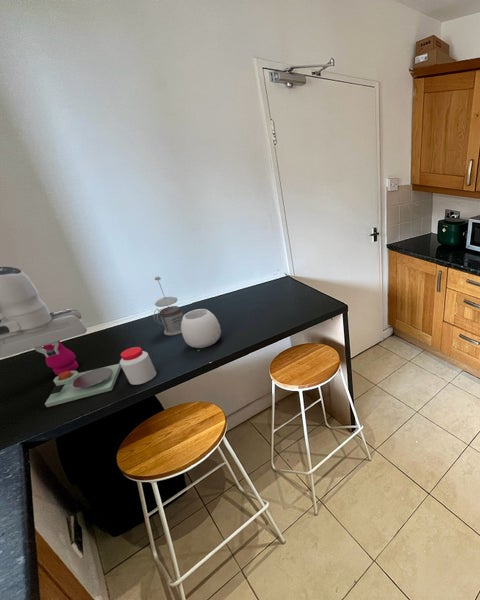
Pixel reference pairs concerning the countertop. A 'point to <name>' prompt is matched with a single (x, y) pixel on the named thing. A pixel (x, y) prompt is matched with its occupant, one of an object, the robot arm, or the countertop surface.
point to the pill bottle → (137, 366)
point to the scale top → (88, 379)
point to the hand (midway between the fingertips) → (53, 354)
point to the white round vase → (200, 328)
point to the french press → (169, 326)
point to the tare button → (65, 375)
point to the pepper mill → (61, 359)
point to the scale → (74, 393)
